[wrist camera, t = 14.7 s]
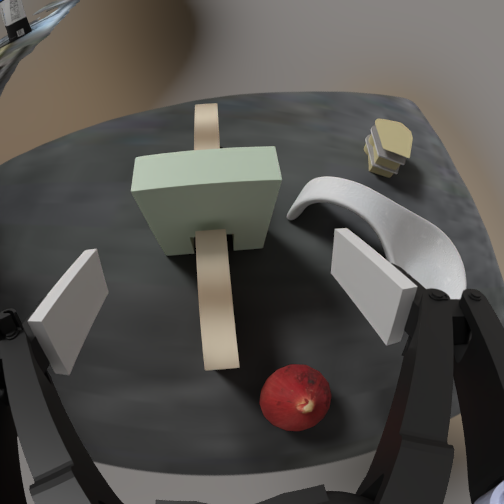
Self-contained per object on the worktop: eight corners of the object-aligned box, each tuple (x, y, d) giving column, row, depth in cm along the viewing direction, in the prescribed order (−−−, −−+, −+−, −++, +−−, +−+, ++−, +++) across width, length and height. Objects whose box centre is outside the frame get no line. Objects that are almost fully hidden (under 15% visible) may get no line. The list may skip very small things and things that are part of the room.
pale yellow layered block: (408, 196, 34) (429, 174, 29) (351, 178, 34) (367, 152, 29) (400, 146, 38) (416, 123, 33) (350, 128, 38) (362, 102, 33)
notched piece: (166, 255, 28) (130, 191, 17) (166, 229, 29) (135, 157, 18) (262, 248, 29) (281, 179, 18) (259, 222, 30) (274, 146, 19)
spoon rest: (457, 266, 31) (491, 246, 24) (437, 346, 27) (478, 338, 20) (312, 173, 34) (328, 134, 27) (267, 247, 30) (277, 214, 23)
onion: (274, 353, 26) (292, 351, 18) (326, 378, 25) (361, 383, 17) (245, 405, 23) (251, 425, 16) (298, 429, 23) (324, 453, 15)
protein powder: (23, 37, 57) (7, -12, 29) (3, 44, 59) (-13, 2, 31) (39, 25, 61) (25, -23, 33) (16, 33, 62) (3, -8, 34)
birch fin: (237, 365, 25) (239, 367, 18) (211, 367, 25) (204, 370, 18) (218, 144, 34) (217, 103, 28) (199, 145, 34) (195, 104, 27)
